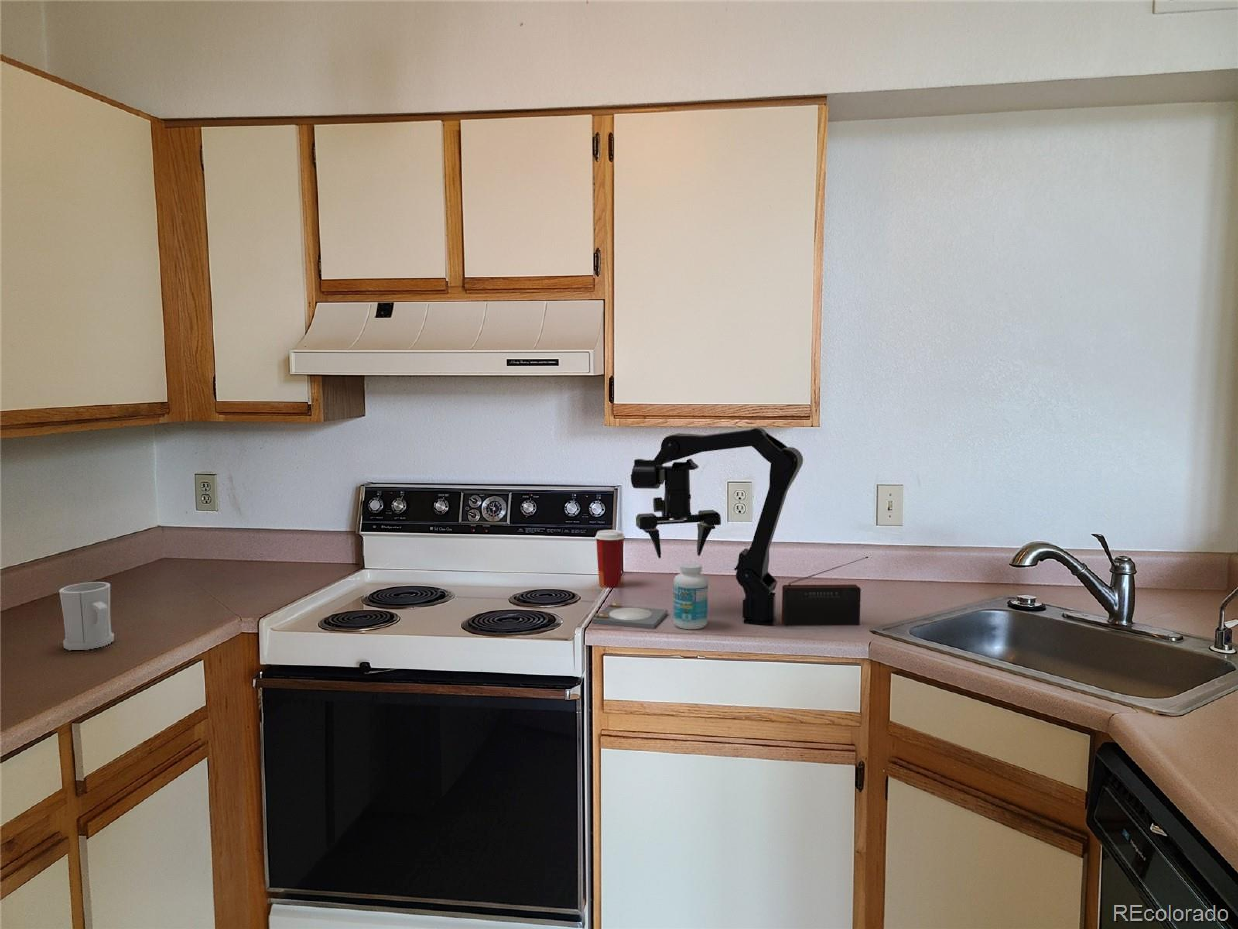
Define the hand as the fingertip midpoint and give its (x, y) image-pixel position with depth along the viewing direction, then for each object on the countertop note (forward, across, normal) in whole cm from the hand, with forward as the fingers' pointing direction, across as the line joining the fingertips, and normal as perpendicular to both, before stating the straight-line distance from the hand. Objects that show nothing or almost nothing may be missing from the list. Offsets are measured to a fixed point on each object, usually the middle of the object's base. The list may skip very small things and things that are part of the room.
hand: (679, 556), depth 196 cm
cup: (+10, +124, +4) cm, 124 cm away
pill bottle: (+13, 0, +10) cm, 17 cm away
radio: (+14, -29, +14) cm, 36 cm away
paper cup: (+12, +12, -27) cm, 33 cm away
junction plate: (+13, +12, +3) cm, 18 cm away
